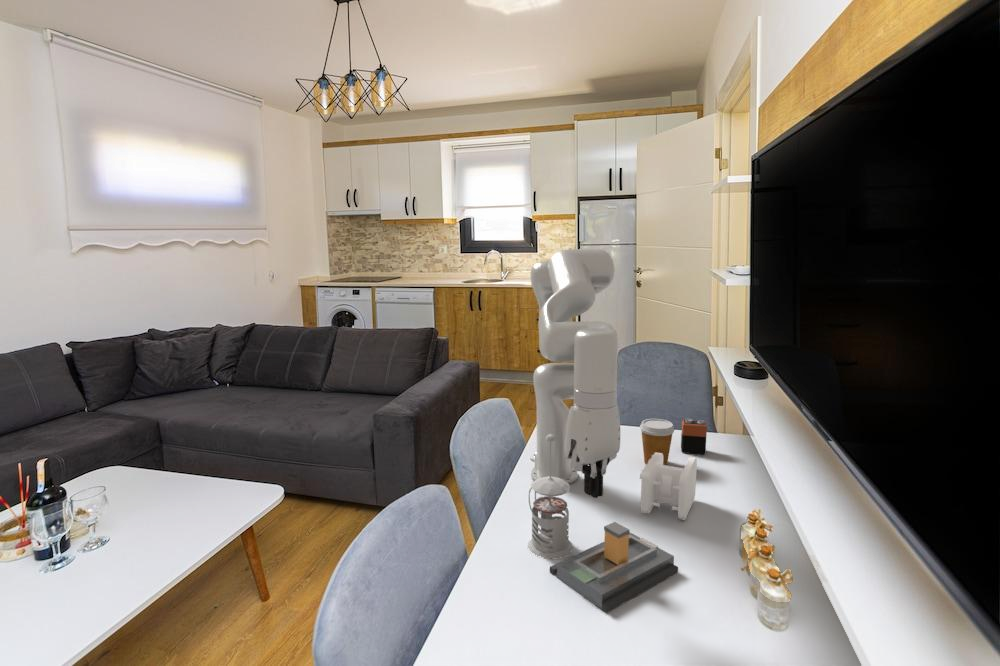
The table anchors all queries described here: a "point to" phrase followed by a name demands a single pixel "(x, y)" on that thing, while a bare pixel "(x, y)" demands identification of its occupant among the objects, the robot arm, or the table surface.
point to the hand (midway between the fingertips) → (593, 494)
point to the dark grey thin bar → (639, 588)
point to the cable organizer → (668, 485)
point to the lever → (616, 543)
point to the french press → (550, 517)
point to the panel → (612, 569)
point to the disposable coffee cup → (656, 438)
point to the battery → (693, 436)
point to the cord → (553, 569)
